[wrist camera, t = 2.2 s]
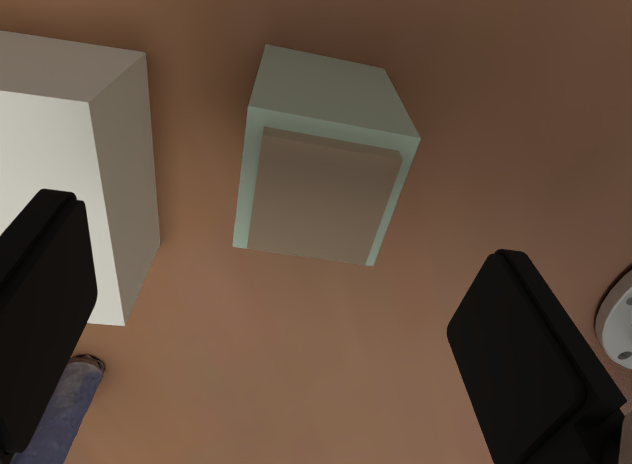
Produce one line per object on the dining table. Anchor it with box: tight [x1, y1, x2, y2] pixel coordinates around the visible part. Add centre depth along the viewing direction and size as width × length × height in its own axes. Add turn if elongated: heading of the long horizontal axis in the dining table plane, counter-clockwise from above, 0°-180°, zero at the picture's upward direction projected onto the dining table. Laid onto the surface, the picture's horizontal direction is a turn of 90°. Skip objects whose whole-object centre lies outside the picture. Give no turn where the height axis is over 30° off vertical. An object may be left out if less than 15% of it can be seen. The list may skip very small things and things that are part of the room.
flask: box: [10, 355, 105, 464], centre depth 26 cm, size 9×3×11 cm, turn 124°
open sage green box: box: [232, 44, 421, 266], centre depth 16 cm, size 5×5×8 cm
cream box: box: [0, 30, 161, 326], centre depth 17 cm, size 10×10×6 cm
